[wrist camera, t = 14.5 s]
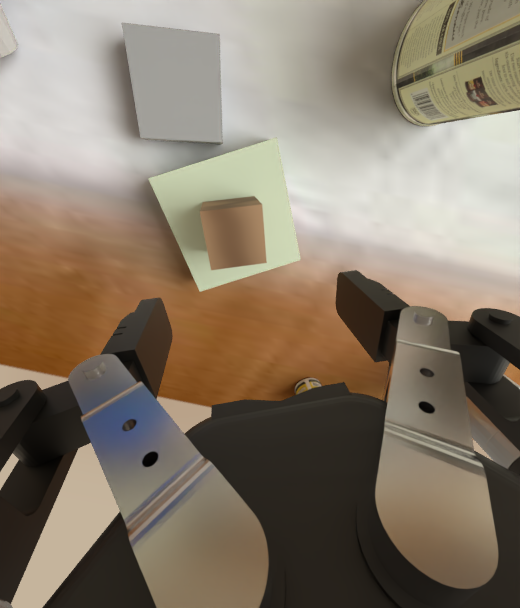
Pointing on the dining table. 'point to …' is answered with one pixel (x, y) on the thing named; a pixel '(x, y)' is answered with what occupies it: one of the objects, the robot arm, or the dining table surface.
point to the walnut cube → (234, 232)
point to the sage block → (227, 185)
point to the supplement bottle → (306, 385)
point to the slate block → (175, 83)
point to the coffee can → (458, 61)
